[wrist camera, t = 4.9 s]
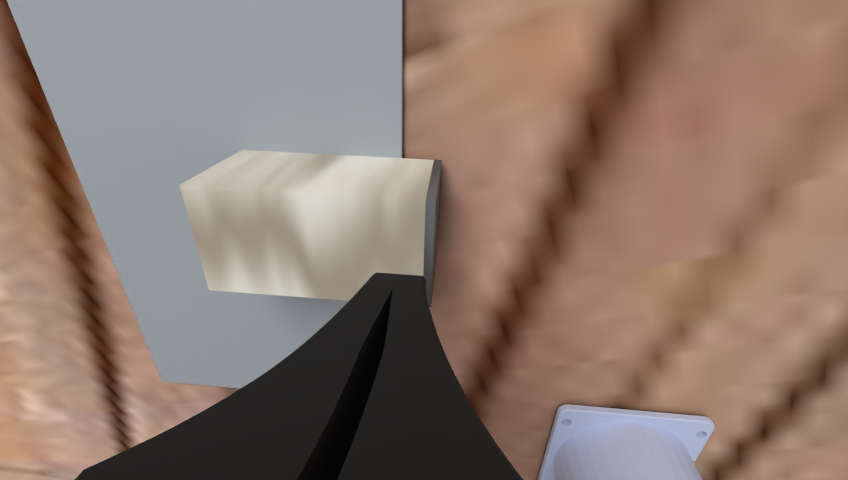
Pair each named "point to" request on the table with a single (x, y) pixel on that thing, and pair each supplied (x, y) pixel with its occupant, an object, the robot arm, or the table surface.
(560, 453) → the robot arm
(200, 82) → the mat
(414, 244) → the birch block
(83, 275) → the table surface
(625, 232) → the table surface
